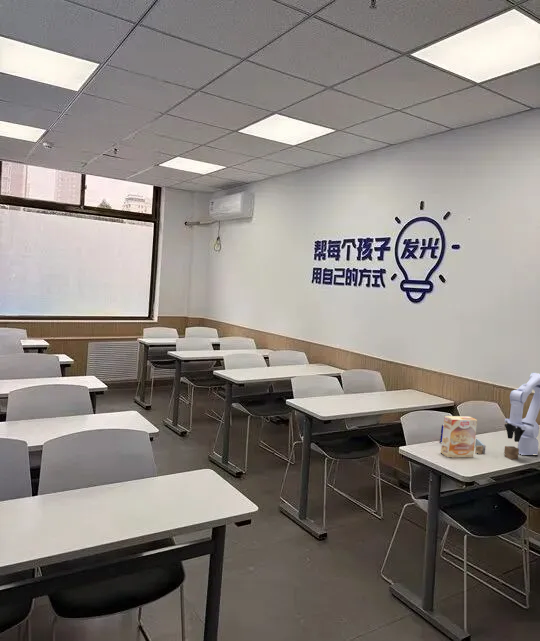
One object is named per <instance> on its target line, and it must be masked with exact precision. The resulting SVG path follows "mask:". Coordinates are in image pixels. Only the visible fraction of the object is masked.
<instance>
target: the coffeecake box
mask: <svg viewBox="0 0 540 641" xmlns="http://www.w3.org/2000/svg"><path fill="white" fill-rule="evenodd" d="M443 424H444V427H443V435H442V443H440V444H441V445H440V454H441V453H442V455H443V454H444V456H445V457H446V456H447V457H446V458H448V457H452V458H474V454H475V453H474V452H475V442H476V437H477V436H476V434H477V426H478V418H477V419H476V418H474V417H472V416H470V415H469V416H468V415H467V416H465V415H464V416H463V415H462V416H461V415H460V416H459V415H455V416H454V415H444V420H443Z"/></svg>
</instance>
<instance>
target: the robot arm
mask: <svg viewBox="0 0 540 641" xmlns="http://www.w3.org/2000/svg"><path fill="white" fill-rule="evenodd" d="M528 378H529V379H528V381H527V382H526V383H522V384H521V385H520V386H519V387H518V388H516V389H514V390H513V389H512V390H511V391H510V394H509V404H510V410H509V412H510V413H509V418H504V422H503V423H505V424H504V427H505V430H506V433H507V439H510V440H511V439H514V442H516V443H517V448H518V449H519V454H518V455H520V454H521V456H522V455H533V454H537V455H539V454H538V452H539V444H540V443H539V441H538V439H537V438H538V436H539V431H540V425H539V424H538V422H537V421H536V420H537V418H538V415H539V412H540V373H538V372H531V373H530V375H529V377H528ZM533 391H534V393H533V396H532V400H530V404H529V408H528V409H527V413H526V415H525V417H524V418H523V416H524V415H523V414H524V413H523V412H524V406H525V405H524V404H525V403H526V402H527V399H528V397H529V395H530V394H532V392H533Z"/></svg>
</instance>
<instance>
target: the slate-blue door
mask: <svg viewBox="0 0 540 641" xmlns="http://www.w3.org/2000/svg"><path fill="white" fill-rule="evenodd" d="M476 446H483V451H482V454H485V455H486V447H487V446H486V445H485V444H484V443H483V442H482V441H481V440H480V439H479V438H475V445H474V447H476Z"/></svg>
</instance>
